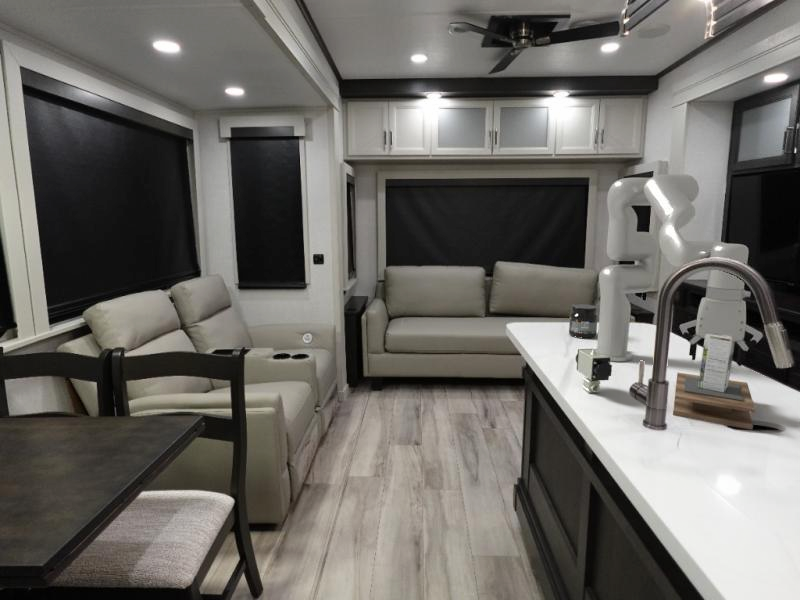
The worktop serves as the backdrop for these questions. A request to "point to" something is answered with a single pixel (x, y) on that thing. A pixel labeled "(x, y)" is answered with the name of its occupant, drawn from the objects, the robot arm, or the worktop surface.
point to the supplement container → (583, 321)
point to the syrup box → (716, 362)
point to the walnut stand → (713, 402)
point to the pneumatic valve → (593, 368)
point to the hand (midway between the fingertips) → (715, 361)
